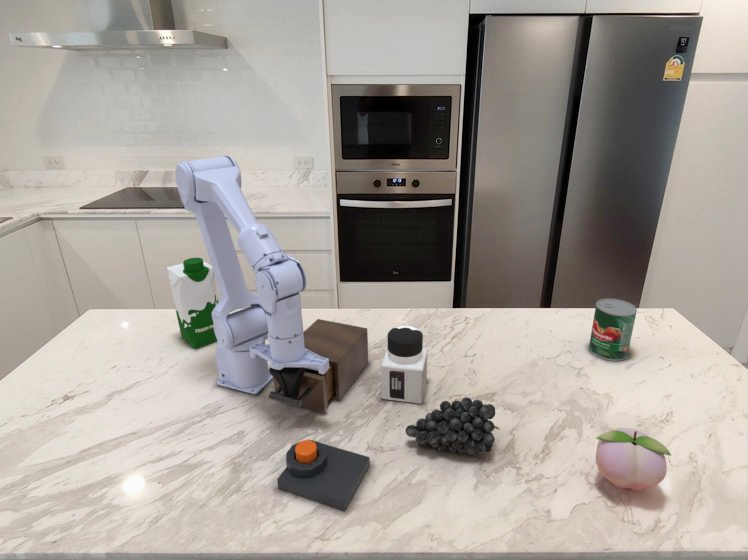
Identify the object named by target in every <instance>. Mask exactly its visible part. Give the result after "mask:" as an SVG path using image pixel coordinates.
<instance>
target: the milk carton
mask: <svg viewBox="0 0 748 560" xmlns="http://www.w3.org/2000/svg"><path fill="white" fill-rule="evenodd" d="M166 271H167V276H168V279H169V284H170V289H171V293H172V294H171V295H172V298H173V303H174V304H173V305H174V308H175V313H176V318H177V319H176V320H177V323H178V327H179V331H180V335H181V338H182V339H183V340H184V341H185V342H186V343H187V344H189V345H190V346H191V347H192V348H193V349H195V350H197V349H199V348H202V347H204V346H206V345H209V344H212V343H214V342H218V340H217V338H216V336H215V332H214V323H213V319H212V311H213V309H214V308H215V306H216V305H217V304H218V302H219V297H218V296H219V295H218V290H217V283H216V277H215V274H214V271H213V268H212V265H211V264H209V263H208V262H206V261H204V260H203V258H201V257H190V258H187V259H184V260H183V262H182V263H179V264H175V265H172V266H166Z"/></svg>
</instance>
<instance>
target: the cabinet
mask: <svg viewBox="0 0 748 560" xmlns="http://www.w3.org/2000/svg"><path fill="white" fill-rule="evenodd" d="M368 333H369V332H368V328H367V327H364V326H363V327H362V326H357V325H352V324H347V323H341V322H336V321H332V320H331V321H330V320H326V319H320V318H318V319H316V320H315V321H314V322H313V323H312V324H311V325H309V326H308V327H307V328H306V329H305V330H303V334H304V345H305V348H306V349H308V350H310V351H311V352H313V353H315V354H317V355H319V356H321V357H324V358H327V359H329V364H330V365H334V375H335V391H336V392H335V393H334V394H333V395H332V397H331V398H330V399H329V400H332V401H336V402H341V401H342V399H343V398H344V396H345V395H346V394H347V393H348V391H349V390H350V388H351V387H352V386H353V385H354V383H355V382H356V381H357V379H358V378H359V377H360V375H362V373H363V372H364V370H365V369H366V368H367V366H368V365H369V339H368V338H369V335H368Z"/></svg>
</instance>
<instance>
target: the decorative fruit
mask: <svg viewBox="0 0 748 560" xmlns="http://www.w3.org/2000/svg"><path fill="white" fill-rule="evenodd" d="M596 440H598V441H597V446H596V451H595V463H596V467H597V469H598V471H599V472H600V474H601V475H602V476H603V477H604V478H605V479H606V480H607V481H608V482H609V483H611V484H612V485H614V486H616V487H617V488H620V489H630V490H632V491H645V490H648V489H651V488H654V487H656V486H658V485H659V484H661V482H663V481H664V480H665V478H666V475H667V471H668V470H667V469H668V468H667V459H666V456H672V454H671V452H670V451H669V449H668V448H667V447H666V446H665V445H664V444H663V443H661V442H660V441H659V440H657V439H655V438H654V437H650V436H649V435H647V434H646V433H644V432H642V431H640V430H637V429H633V428H628V427H627V428H626V427H619V428H613V429H610V430H608V431H606V432H603V433H602V434H600V435H599V436H597V437H596ZM665 455H666V456H665Z"/></svg>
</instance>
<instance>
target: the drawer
mask: <svg viewBox="0 0 748 560" xmlns="http://www.w3.org/2000/svg"><path fill="white" fill-rule="evenodd" d="M272 380H273V387H274V391H270V392H269V394H268V399H269V400H270V401H271V400H272V401H274V402H279V403H281V404H282V403H283V404H285V405H290V406H294V407H297V408H301V407H304V408H305V407H306V408H309V409H312V410H315V411H316V410H317V411H320V412H324V413H325V412H326V411H327V410H328V408H329V407H328V406H329V405H328V402H329V401H330V400H331V399H330V398H331V397H332V395H333V394H334V393H335V392H336V391H335V375H334V365H330V364H329V369H328V371H327V372H326V373H325V374H324V375H323V374H319V372H318V371H317V370H313V369H308V368H307V369H306V371H305V373H304V375H303V378H302V381H301V385H300V391H299V396H298V397H297V398H296V397H292V396H289V395H285V394H284V393H283V391H282V389H281V387H280V385H279V384H278V382H277V381H276V379H275V378H274V377H273V379H272Z"/></svg>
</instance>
